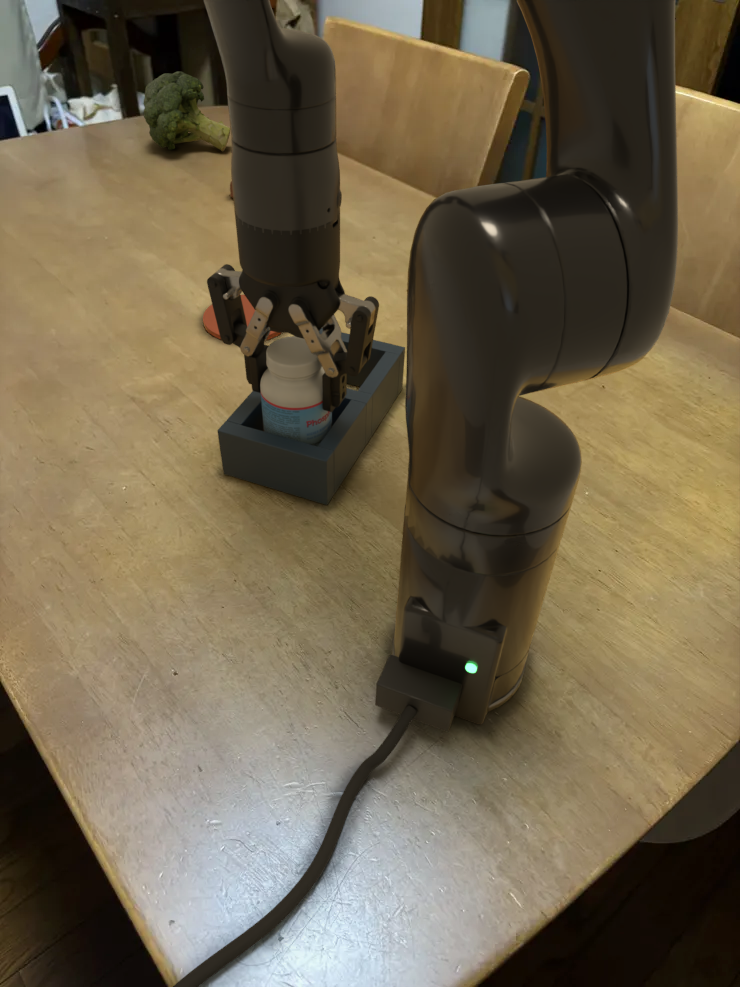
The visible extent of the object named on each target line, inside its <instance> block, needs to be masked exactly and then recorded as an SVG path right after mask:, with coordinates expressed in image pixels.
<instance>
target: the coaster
mask: <svg viewBox="0 0 740 987" xmlns="http://www.w3.org/2000/svg"><path fill="white" fill-rule="evenodd" d="M240 295H241V300H242V304H243V309H244V314H245V318H246V323H247V327H248V325H249V323H250V320H251V318H252V316H253V314H254V312H255V309H254V308H253V306H252V305H251V303H250V302H249V301H248V299H247V298H246V296H245V295H244V294H240ZM202 323H203V327H204V329H205V330H206V331H207V333H208V334H210V335H211V336H212V337H214V338H215V339H219V340H221V338H220V334H219V330H218V325H217V321H216V317H215V313H214V309H213V305H212V304H210V305H209V306H208V307H207V308H206V309H205V310H204V312H203V315H202ZM281 334H282V333H278V332H274V331H270V333H269V335H268V337H267V339H266V341H268V340H271V339H274V338H276V337H278V336H279V335H281Z"/></svg>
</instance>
